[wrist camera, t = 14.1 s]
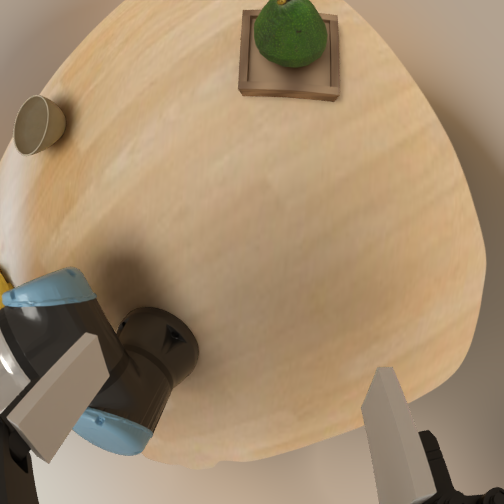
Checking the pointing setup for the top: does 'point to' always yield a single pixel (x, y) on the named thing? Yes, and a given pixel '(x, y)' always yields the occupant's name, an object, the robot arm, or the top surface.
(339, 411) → the top surface
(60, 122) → the grey bowl
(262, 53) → the avocado
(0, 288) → the teapot
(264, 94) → the base
